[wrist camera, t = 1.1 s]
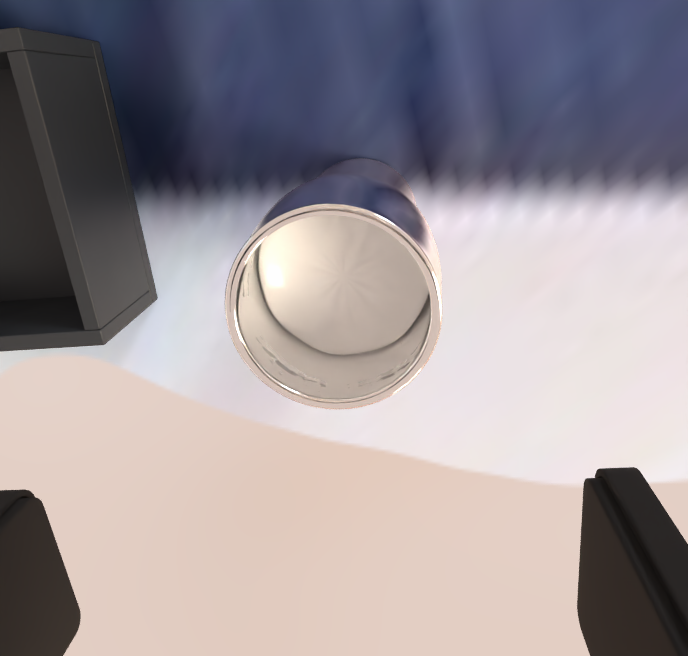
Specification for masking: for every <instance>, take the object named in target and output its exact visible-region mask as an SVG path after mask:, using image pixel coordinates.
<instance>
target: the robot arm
mask: <svg viewBox="0 0 688 656" xmlns="http://www.w3.org/2000/svg"><path fill="white" fill-rule="evenodd" d="M583 490H584V491H583V509H582V527H581V545H580V563H579V582H578V601H577V609H578V617H579V623H580V627H581V630H582V633H583V636H584V639H585V642H586V645H587V648H588V651H589V653H590V656H688V544H687V542H686V541H685V539H684V538H683V536H682V535H681V534H680V532H679V530H678V529H677V527H676V526H675V524H674V523H673V521H672V520H671V518H670V517H669V515H668V513H667V512H666V511H665V509H664V507H663V506H662V504H661V503H660V501H659V500H658V498H657V497H656V495H655V494H654V492H653V491H652V489H651V488H650V486H649V484H648V483H647V481H646V480H645V478H644V477H643V475H642V474H641V472H640V471H639V470H638V469H637V468H634V467H632V468H605V469H598V470H597V472H596V474H595V478H587V479H585V482H584V489H583ZM79 624H80V609H79V606H78V603H77V600H76V598H75V595H74V592H73V589H72V586H71V583H70V580H69V577H68V574H67V572H66V569H65V566H64V563H63V560H62V557H61V555H60V552H59V549H58V546H57V543H56V540H55V537H54V534H53V531H52V529H51V526H50V523H49V520H48V517H47V514H46V511H45V509H44V506H43V503H42V502H41V500H39V499H38V498H35V496H34V494H32V493H31V492H30V491H28V490H4V491H3V490H2V491H0V656H63V655H64V653H65V652H66V649H67V648H68V647H69V645H70V643H71V641H72V640H73V638H74V636H75V635H76V633H77V631H78V628H79Z"/></svg>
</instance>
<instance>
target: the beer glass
mask: <svg viewBox="0 0 688 656" xmlns="http://www.w3.org/2000/svg"><path fill="white" fill-rule="evenodd" d="M225 313H226V320H227V325H228V329H229V332H230V335H231V338H232V340H233V343H234V345H235V347H236V349H237V351H238V353H239V354H240V356H241V358H242V359H243V361H244V362H245V363H246V365H247V366H248V367H249V368H250V370H251V371H252V372H253V373H254V374H255V375H256V376H257V377H258V378H259V379H260V380H261V381H262V382H264V383H265V384H266V385H267V386H269V387H270V388H272V389H273V390H274V391H276V392H278V393H279V394H281V395H283V396H285V397H287V398H289V399H291V400H294V401H296V402H299V403H302V404H305V405H309V406H313V407H318V408H325V409H350V408H357V407H362V406H366V405H370V404H373V403H376V402H379V401H381V400H383V399H386V398H388V397H390V396H391V395H393V394H395V393H396V392H398V391H399V390H401V389H402V388H404V387H405V386H406V385H407V384H409V383H410V382H411V381H412V380H413V379H414V378H415V377H416V376H417V375H418V374H419V373H420V371H421V370H422V369H423V367H424V366H425V365H426V363H427V362H428V360H429V358H430V357H431V355H432V353H433V351H434V348H435V346H436V343H437V341H438V337H439V334H440V330H441V324H442V275H441V266H440V259H439V253H438V249H437V245H436V242H435V239H434V237H433V234H432V232H431V230H430V227H429V225H428V223H427V221H426V219H425V217H424V216H423V214H422V213H421V211H420V210H419V209H418V207H417V205H416V201H415V197H414V195H413V192H412V190H411V188H410V186H409V185H408V183H407V182H406V180H405V179H404V178H403V177H402V176H401V175H400V174H399V173H398V172H397V171H396V170H395V169H393V168H392V167H390V166H388V165H387V164H384V163H382V162H380V161H377V160H373V159H366V158H355V159H348V160H344V161H341V162H339V163H336V164H334V165H333V166H331V167H329V168H328V169H326V170H325V171H324V172H323V173H322V174H321V175H320V176H319V177H317V178H314V179H312V180H309V181H307V182H305V183H303V184H301V185H300V186H298V187H296V188H295V189H294V190H292V191H291V192H289V193H288V194H286V195H285V196H284V197H282V198H281V199H280V200H279V201H278V202H277V203H276V204H275V205H274V206H273V207H272V208H271V209H270V210H269V211H268V213H267V214H266V215H265V216H264V217H263V218H262V220H261V221H260V222H259V224H258V225H257V227H256V228H255V230H254V231H253V233H252V234H251V236H250V238H249V239H248V241H247V242H246V243H245V244H244V246H243V247H242V248H241V250H240V252H239V253H238V255H237V257H236V259H235V261H234V263H233V265H232V268H231V270H230V273H229V277H228V280H227V285H226V292H225Z"/></svg>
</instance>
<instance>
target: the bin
mask: <svg viewBox="0 0 688 656" xmlns="http://www.w3.org/2000/svg"><path fill="white" fill-rule="evenodd" d="M156 300H157V294H156V289H155V285H154V281H153V276H152V272H151V267H150V263H149V259H148V254H147V250H146V245H145V241H144V237H143V232H142V228H141V224H140V219H139V215H138V210H137V206H136V202H135V197H134V193H133V189H132V184H131V180H130V175H129V171H128V167H127V162H126V158H125V153H124V149H123V145H122V140H121V136H120V132H119V127H118V123H117V118H116V114H115V110H114V105H113V101H112V97H111V92H110V88H109V83H108V79H107V75H106V70H105V66H104V61H103V57H102V53H101V48H100V44H99V42H97V41H92V40H87V39H81V38H76V37H70V36H64V35H59V34H53V33H47V32H42V31H36V30H30V29H25V28H19V27H15V28H8V29H0V351H14V350H30V349H46V348H62V347H78V346H94V345H104V344H106V343H107V342H108V341H109V340H110V339H112V338H113V337H114V336H115V335H116V334H117V333H118V332H120V331H121V330H122V329H123V328H124V327H125V326H127V325H128V324H129V323H130V322H131V321H132V320H134V319H135V318H136V317H137V316H138V315H139V314H141V313H142V312H143V311H144V310H145V309H146V308H148V307H149V306H150V305H151V304H152V303H153V302H154V301H156Z"/></svg>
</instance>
